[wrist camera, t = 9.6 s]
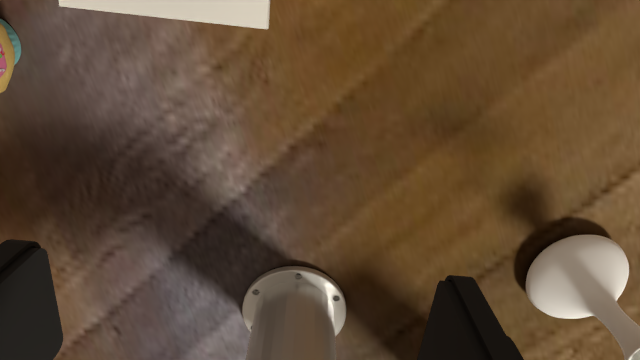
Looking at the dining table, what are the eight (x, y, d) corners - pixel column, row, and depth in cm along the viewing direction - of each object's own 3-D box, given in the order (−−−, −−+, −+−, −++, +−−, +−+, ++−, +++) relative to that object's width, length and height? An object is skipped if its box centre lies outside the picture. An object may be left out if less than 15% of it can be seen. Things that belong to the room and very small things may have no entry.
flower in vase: (636, 240, 48) (934, 465, 25) (584, 314, 52) (795, 564, 29) (535, 212, 46) (754, 425, 23) (490, 291, 50) (636, 536, 27)
